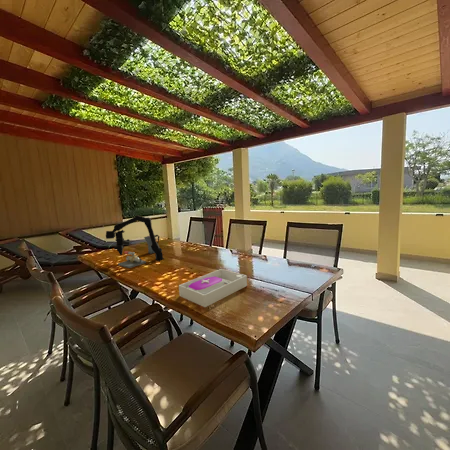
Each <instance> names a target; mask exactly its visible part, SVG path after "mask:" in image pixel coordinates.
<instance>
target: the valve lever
mask: <svg viewBox="0 0 450 450" xmlns="http://www.w3.org/2000/svg"><path fill="white" fill-rule="evenodd" d="M123 253H124V254H125V255H130V256H132V255H135V252H134V251H133V252H132V251H130V250H124V251H123Z"/></svg>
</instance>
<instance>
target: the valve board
mask: <svg viewBox="0 0 450 450" xmlns="http://www.w3.org/2000/svg"><path fill="white" fill-rule="evenodd" d="M146 263H147V261H146V260H142V259H141V263H135V262H134V263H131V262H130V261H127V260H126V261H122V262H118V263H117V266H119V267H120V266H121V267H124V268H127V269H132V268H134V267H137V266H141V265H144V264H146Z"/></svg>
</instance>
